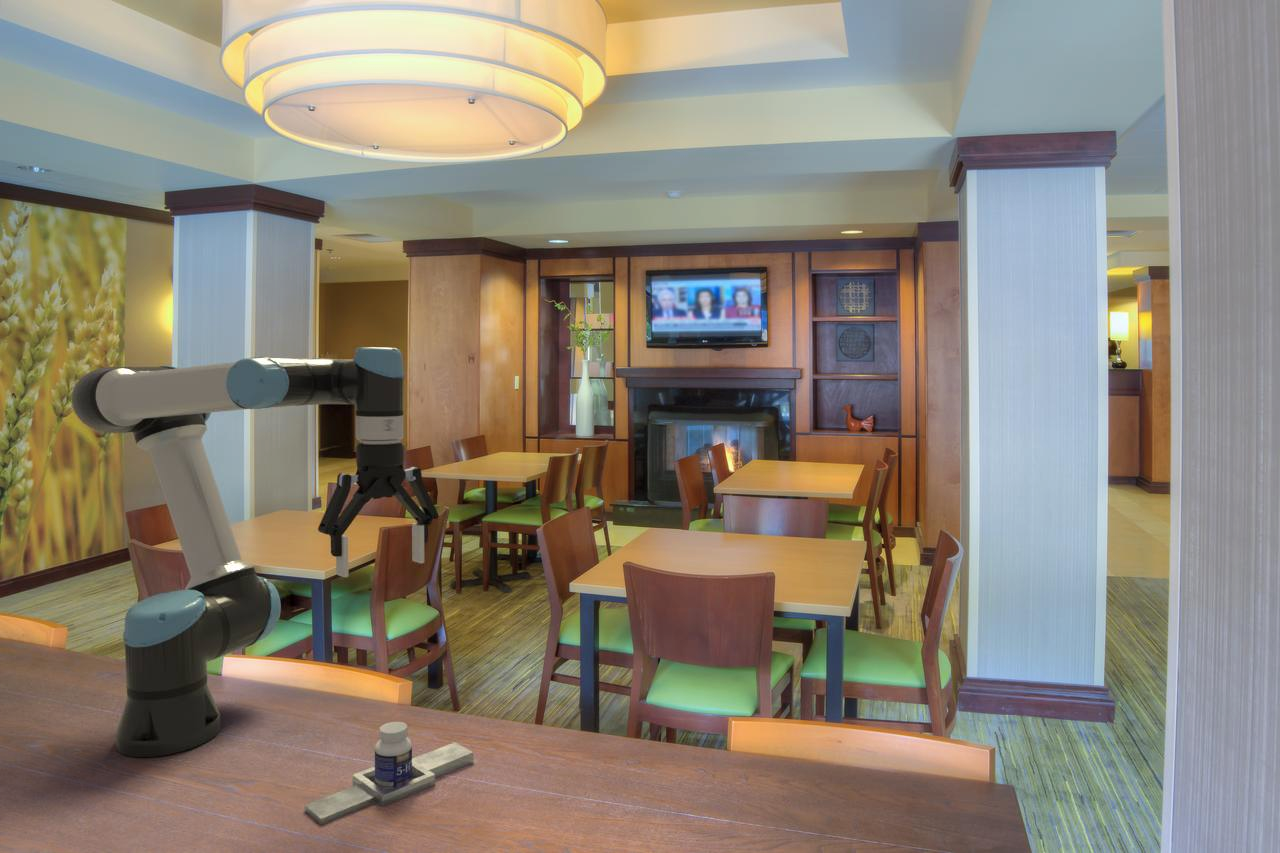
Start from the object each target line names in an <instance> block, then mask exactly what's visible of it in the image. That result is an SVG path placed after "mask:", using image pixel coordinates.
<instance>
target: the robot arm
mask: <svg viewBox="0 0 1280 853" xmlns="http://www.w3.org/2000/svg"><path fill="white" fill-rule="evenodd" d="M404 377H405V372H404V365H403V354H402V352H401V350H400V349H398V348H396V347H379V346H377V347H374V346H371V347H370V346H369V347H368V346H367V347H366V346H365V347H363V346H362V347H357V348H356V349H355V351H354V358H351V359H346V358H345V359H344V358H343V359H342V358H341V359H340V358H339V359H338V358H324V357H323V358H322V357H319V358H316V357H312V358H311V357H310V358H280V357H279V358H274V357H267V356H266V357H265V356H257V357H256V356H254V357H248V358H247V357H246V358H242V359H239V360H237V361H231V362H223V363H222V362H221V363H214V364H213V363H212V364H203V365H197V366H187V367H175V366H171V365H169V366H168V365H161V366H160V365H159V366H106V367H100V368H96V369H93V370H91V371H89V372H86V373H85V374H84V375H83V376H82V377H80V378H79V380H78V381H76V383H75V386H73V389H72V392H71V400H70V401H71V406H72V409H73V411H74V413H75V415H76V417H77V418H78V419H79V420H80V421H81V423H83V424H85V425H86V426H87V427H89V428H91V429H93V430H95V431H99V432H102V433H107V434H109V433H110V434H111V433H112V434H125V433H132V435H133V437H134V440H135V444H136V446H137V448H140V449H141V450H143V451H146V452H148V454H150V458H151V461H152V463H153V467H154V469H155V472H156V475H157V478H158V481H159V485H160V487H161V490H162V493H163V496H164V499H165V502H166V506H167V508H168V511H169V515H170V518H171V520H172V524H173V527H174V529H175V532H176V536H177V539H178V542H179V545H180V547H181V550H182V554H183V556H184V559H185V563H186V566H187V568H188V571H189V572H188V573H189V575H190V579H189V581H188V583H187V585H186V586H185V588H184V589H177V590H176V589H175V590H171V591H169V592H160V593H158V594H155V595H151V596H148V597H146V598H143V599H142V600H140V601H138V602H136V603H135V604H133V605H132V606H131V607H130V608H129V609H128V611H127V612H126V614H125V616H124V631H123V635H122V640H123V642H124V651H125V654H124V656H125V675H126V676H125V678H126V701H125V704H124V707H123V709H122V710H123V711H122V714H121V717H120V718H119V722H118V725H117V728H116V732H115V748H116V750H117V752H118V753H120V754H121V755H124V756H126V757H134V758H152V757H162V756H167V755H173V754H176V753H181V752H184V751H187V750H190V749H194V748H197V747H199V746H201V745H202V744H203V745H204V743H206V742H208V741H210V740H211V739H213V738H214V737H216V735H218V733H219V732H221V731H220V730H221V714H220V711H219V709H218V707H217V706H218V705H217V703H216V702H215V700H214V697H213V695H212V692H211V689H210V688H209V684H208V662H210V661H213V660H216V659H219V658H220V657H224V656H226V655H229V654H231V653H234V652H237V651H239V650H240V649H245V648H248V647H250V646H253V645H255V644H257V643H258V642H260V641H262V640H264V639H265V638H267V637H268V636H269V635H270V634H271V633H272V632H273V631H274V630H275V628H276V626H277V623H278V621H279V620H280V616H281V610H282V609H281V608H282V607H281V604H282V603H281V598H280V595H279V592H278V589H277V588H276V586H275V585H274V584H273V583H272V582H270V581H269V579H267V578H265V577H262V576H259V575H257V572H256V569H255V566H254V565H253V564H250V563H249V562H246V561H245V560H243V559H242V557H241V554H240V551H239V547H238V545H237V541H236V539H235V535H234V533H233V529H232V526H231V524H230V521H229V519H228V515H227V512H226V509H225V506H224V503H223V501H222V497H221V494H220V491H219V488H218V486H217V482H216V480H215V476H214V473H213V471H212V468H211V465H210V462H209V458H208V456H207V453H206V450H205V447H204V444H203V441H202V439H203V437H204V435H205V434H206V431H207V430H208V428H207V424H206V422H207V421H208V419H209V418H210V417H211V414H212V413H218V412H219V413H221V412H229V411H230V412H231V411H241V410H255V409H257V410H258V409H259V410H260V409H270V408H280V407H281V408H282V407H283V408H284V407H294V406H316V405H317V406H318V405H354V406H355V438H356V439H357V441H359V442H358V443H357V444H356V445H355V453H356V455H355V456H356V457H355V461H356V462H355V463H356V471H355V474H350V473H349V474H348V473H343V472H339V473H338V475H337V478H336V479H337V480H336V488H335V490H334V491H333V494H332V496H331V499H330V500H329V503H328V505H327V507H326V508H325V512H324V514H323V516H322V519H321V521H320V523H319V525H318V528H317V531H318V532H319V533H322V534H324V535H327V536H328V535H329V537H330V554H331V556H333V557H335V567H336V568H335V569H336V570H335V573H336V574H335V575H337V576H339V577H342V578H347V577H348V578H349V536H348V535H344V534H345V532H346V531H347V529H348V528H349V527H350V526H351V524H352V523H353V522H354V520H355V519H356V517H357V516H358V514H360V512H361V510H362V509H363V508H364V506H365V505H366V504H367V503H368V502H369V501H370V500H371V499H373V500H378V499H379V500H380V499H382V498H387V499H388V498H393V497H395V498H396V500H398V502H399V503H400V504H401V505H402V506H403V507H404V509H405V510H406V511H407V512H408V513H409V515H410V516H411V517H412V518H413V519H414V520H415V523H414V522H413V523H411V547H412V548H411V552H412V553H411V557H412V558H411V559H412V560H411V562H414V563H418V564H425V543H428V541H429V526H430V525H432V523H433V521H434V520H438V518H439V517H440V516H439V513H438V511H437V508H436V506H435V504H434V502H433V500H432V498H431V496H430V494H429V491H428V490H427V488H426V486H425V483H424V481H423V476H422V468H419V467H415V466H408V468H406V469H404V463H405V444H404V443H403V442H401V440H403V439H404V437H405V436H404V435H405V434H404V426H405V425H404V379H405V378H404ZM405 479H406V480H407V481H408V482H409V485H410V487H411V489H412V492H413V493H414V495H415V497H416V499H417V501H418V503H419V505H418V504H417V503H416V501H414V499H413V498H412V497H411V496H410V495H409V493H408V491H407V489H406V488H405V487H404V486H403V485H402V484H403V482H404V481H405ZM355 483H356V485H357V486H358V487H357V489H356V490H355V492H354V493H353V495H352V498H351V500H350V501H349V502H348V504H347V505H346V506H345V508H344V505H345V503H346V501H347V499H348V496H349V494H350V491H351V488H352V487H354V484H355ZM420 507H421V508H420ZM343 508H344V509H343ZM342 510H343V511H342Z"/></svg>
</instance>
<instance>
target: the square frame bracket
mask: <svg viewBox="0 0 1280 853" xmlns="http://www.w3.org/2000/svg"><path fill="white" fill-rule="evenodd" d="M472 763H474V752H473V751H471V750H470V749H468V748H466V747H464V746H463V745H461V744H460V743H457V742H455V741H454V742H452V743H449V744H446V745H444V746H441V747H439V748H436V749H434V750H432V751H428V752H425V753H422V754H421V755H417V756H416V757H412V780H410V781H408V782H405V783H403V784H400V785H398V786H395V787H393V788H390V789H388V790H386V791H384V790H383V789H381V788H380V787H379V786H377V785H376V784H375V766H372V767H370V768H367V769H364V770H362V771H359V772H356V773H353V774H352V786H351V787H348V788H346V789H343V790H340V791H338V792H335V793H332V794H330V795H328V796H325V797H322V798H319V799H316V800H315V801H314V800H313V801H312V802H309V803H307V804H305V805H304V811H305V812H306V813H307V814H308V815H310V816H311V817H312V818H313V819H314V820H315V821H316V822H317V823H319V824H320V825H324V824H326V823H329V822H331V821H334V820H335V819H338V818H341V817H343V816H345V815H348V814H350V813H353V812H355V811H358V810H360V809H362V808H365V807H368V806H370V805H372V804H374V803H375V804H378V806H380V807H382V808H383V807H385V806H388V805H391V804H393V803H394V802H398V801H399V800H402V799H404V798H407V797H409V796H411V795H414V794H416V793H419V792H421V791H424V790H425V789H426V790H427V789H428V788H431V787H434V786H435V785H436V778H438V777H441V776H444V775H446V774H448V773H450V772H453V771H455V770H458V769H460V768H462V767H464V766H467V765H470V764H472Z"/></svg>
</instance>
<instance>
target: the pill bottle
mask: <svg viewBox="0 0 1280 853" xmlns="http://www.w3.org/2000/svg"><path fill="white" fill-rule="evenodd" d="M378 732H379V740H378V741H377V742H376V744H375V747H374V767H375V780H374V784H376V785H377V786H379V787H380V788H381V789H383V790H384V791H386V790H388V789H390V788H393V787H395V786H398V785H400V784H403V783H405V782H408V781H410V780H413V776H412V758H413V743H412V741H411V739H410V738H409V737H408V733H409V732H408V725H407V723H405V722H402V721H390V722H386V723H384V724H383V725H381V726H380V727H379V731H378Z"/></svg>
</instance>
